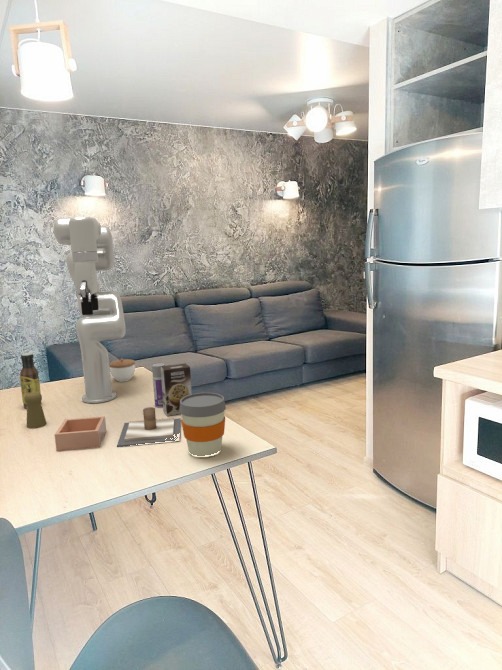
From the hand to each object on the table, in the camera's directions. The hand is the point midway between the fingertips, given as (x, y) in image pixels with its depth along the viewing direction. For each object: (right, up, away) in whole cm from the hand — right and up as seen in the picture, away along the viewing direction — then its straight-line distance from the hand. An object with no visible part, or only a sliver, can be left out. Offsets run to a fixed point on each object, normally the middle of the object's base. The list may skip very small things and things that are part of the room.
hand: (90, 312), depth 155 cm
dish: (0, -39, -9) cm, 40 cm away
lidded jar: (-4, -27, +55) cm, 61 cm away
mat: (+20, -37, -5) cm, 42 cm away
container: (+19, -33, +20) cm, 43 cm away
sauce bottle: (-29, -34, +24) cm, 51 cm away
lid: (+20, -37, -5) cm, 42 cm away
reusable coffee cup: (+38, -40, -19) cm, 58 cm away
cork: (-20, -37, +6) cm, 42 cm away
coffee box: (+26, -34, +13) cm, 44 cm away
